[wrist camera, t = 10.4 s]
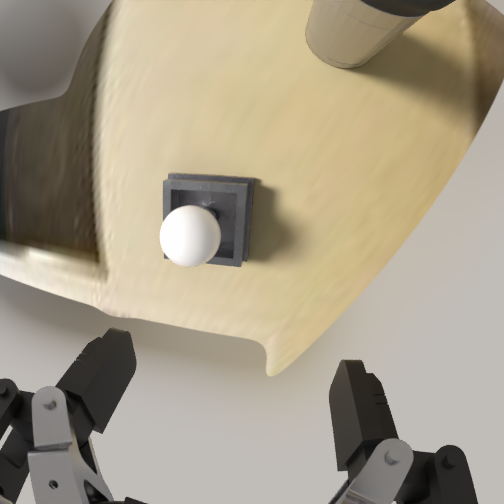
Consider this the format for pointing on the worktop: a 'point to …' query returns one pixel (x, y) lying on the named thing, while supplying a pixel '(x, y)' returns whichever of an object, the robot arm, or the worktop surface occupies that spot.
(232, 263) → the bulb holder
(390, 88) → the worktop surface
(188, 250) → the lightbulb
